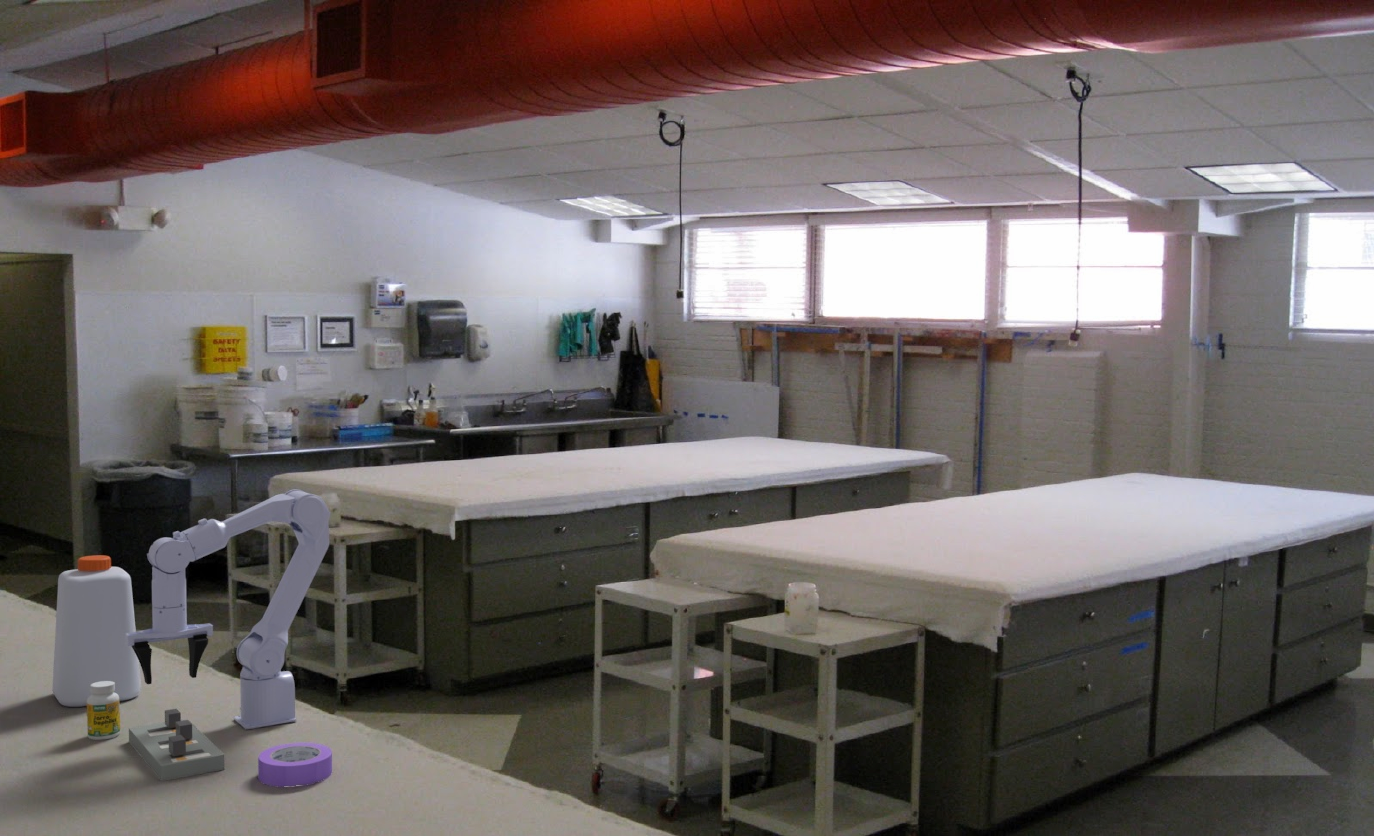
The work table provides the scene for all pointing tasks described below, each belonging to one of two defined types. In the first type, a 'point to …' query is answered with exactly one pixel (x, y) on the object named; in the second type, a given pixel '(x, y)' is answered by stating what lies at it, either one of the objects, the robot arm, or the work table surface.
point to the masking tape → (294, 764)
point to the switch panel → (156, 754)
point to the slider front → (177, 745)
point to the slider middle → (184, 729)
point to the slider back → (172, 717)
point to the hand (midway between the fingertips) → (170, 679)
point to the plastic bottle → (94, 632)
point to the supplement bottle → (103, 711)
